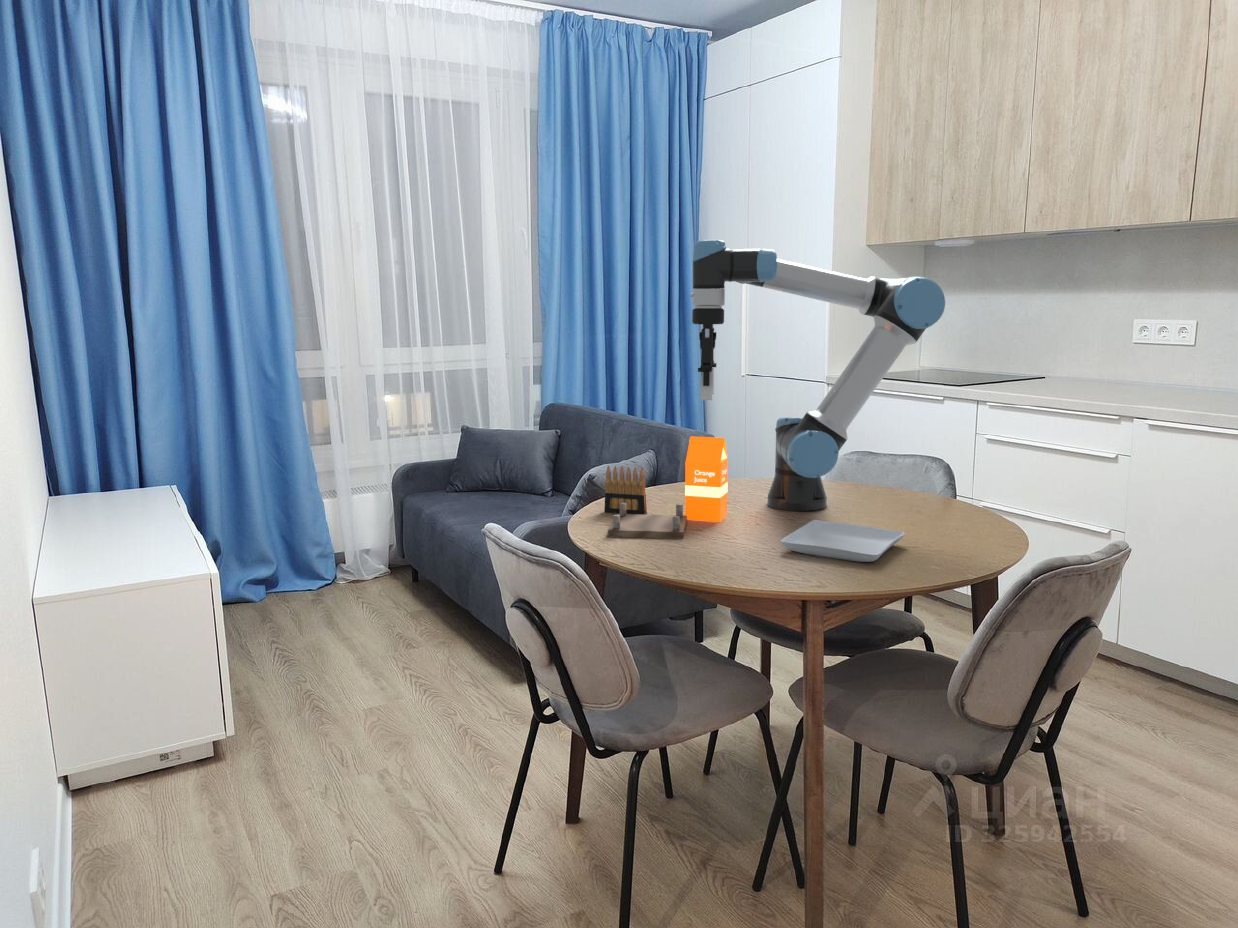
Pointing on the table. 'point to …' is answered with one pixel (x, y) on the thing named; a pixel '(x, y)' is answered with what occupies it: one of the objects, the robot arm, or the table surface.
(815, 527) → the salad plate
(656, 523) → the peg stand
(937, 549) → the table surface
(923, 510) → the table surface
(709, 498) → the orange juice
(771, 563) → the table surface
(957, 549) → the table surface
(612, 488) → the ammunition clip
